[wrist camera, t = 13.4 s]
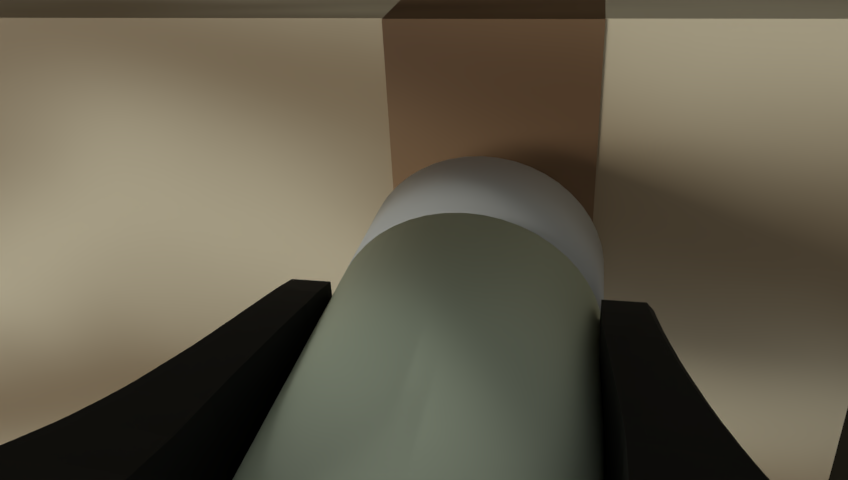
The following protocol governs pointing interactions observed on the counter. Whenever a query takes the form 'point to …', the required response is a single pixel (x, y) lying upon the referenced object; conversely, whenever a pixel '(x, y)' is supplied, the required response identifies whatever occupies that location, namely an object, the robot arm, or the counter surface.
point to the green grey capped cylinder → (453, 341)
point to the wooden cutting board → (414, 150)
